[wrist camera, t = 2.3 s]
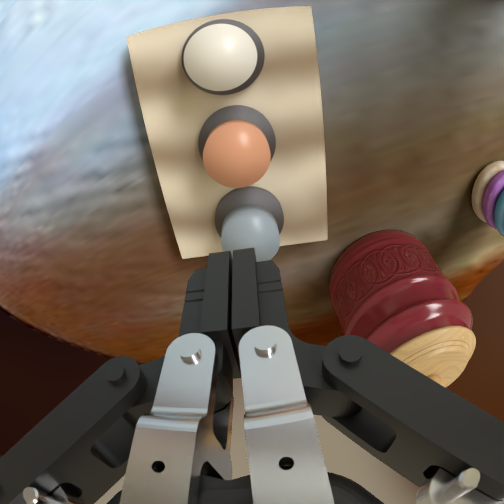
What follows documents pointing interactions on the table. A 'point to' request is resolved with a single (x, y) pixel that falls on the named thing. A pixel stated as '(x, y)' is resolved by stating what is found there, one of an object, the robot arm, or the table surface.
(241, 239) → the slate button
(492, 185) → the stacking toy
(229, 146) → the terracotta button
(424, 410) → the robot arm
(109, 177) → the table surface
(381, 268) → the canister
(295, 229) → the button panel
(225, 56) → the ivory button
